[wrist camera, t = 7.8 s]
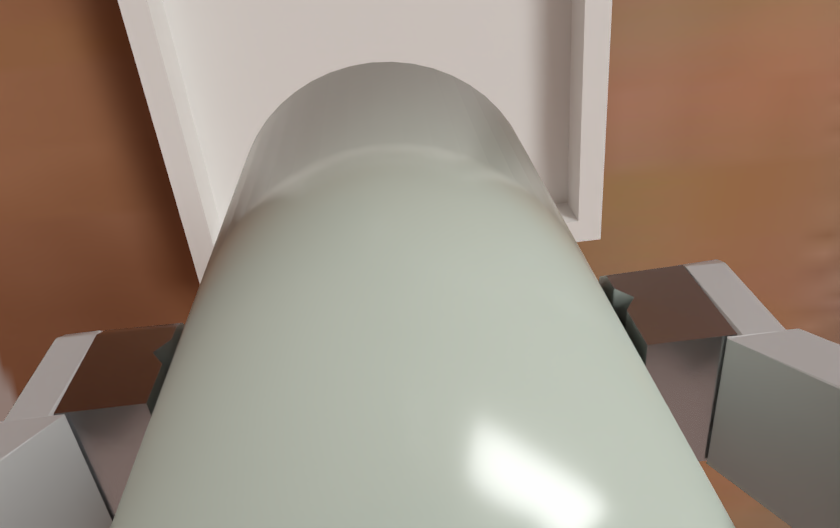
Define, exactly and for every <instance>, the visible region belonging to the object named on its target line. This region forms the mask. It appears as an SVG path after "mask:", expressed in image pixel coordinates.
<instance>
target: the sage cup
mask: <svg viewBox="0 0 840 528" xmlns="http://www.w3.org/2000/svg"><path fill="white" fill-rule="evenodd" d="M110 528H735V526H734V524H733V523H732V521H731V519H730V517H729V515H728V514H727V512H726V510H725V508H724V506H723V505H722V503H721V501H720V499H719V498H718V496H717V494H716V492H715V490H714V489H713V487H712V485H711V483H710V481H709V480H708V478H707V476H706V474H705V472H704V471H703V469H702V467H701V465H700V463H699V462H698V460H697V458H696V456H695V454H694V453H693V451H692V449H691V447H690V445H689V444H688V442H687V440H686V438H685V436H684V435H683V433H682V431H681V429H680V427H679V426H678V424H677V422H676V420H675V418H674V417H673V415H672V413H671V411H670V409H669V408H668V406H667V404H666V402H665V400H664V399H663V397H662V395H661V393H660V391H659V390H658V388H657V386H656V384H655V382H654V381H653V379H652V377H651V375H650V374H649V372H648V370H647V368H646V366H645V365H644V363H643V361H642V359H641V357H640V356H639V354H638V352H637V350H636V348H635V347H634V345H633V343H632V341H631V339H630V338H629V336H628V334H627V332H626V330H625V329H624V327H623V325H622V323H621V321H620V320H619V318H618V316H617V314H616V312H615V311H614V309H613V307H612V305H611V303H610V302H609V300H608V298H607V296H606V294H605V293H604V291H603V289H602V287H601V285H600V284H599V282H598V280H597V278H596V276H595V275H594V273H593V271H592V269H591V267H590V266H589V264H588V262H587V260H586V258H585V257H584V255H583V253H582V251H581V250H580V248H579V246H578V244H577V242H576V241H575V239H574V237H573V235H572V233H571V232H570V230H569V228H568V226H567V224H566V223H565V221H564V219H563V217H562V215H561V214H560V212H559V210H558V208H557V206H556V205H555V203H554V201H553V199H552V197H551V196H550V194H549V192H548V190H547V188H546V187H545V185H544V183H543V181H542V179H541V178H540V176H539V174H538V172H537V170H536V169H535V167H534V165H533V163H532V161H531V160H530V158H529V156H528V154H527V152H526V151H525V149H524V147H523V145H522V143H521V142H520V140H519V138H518V136H517V135H516V133H515V131H514V129H513V128H512V126H511V124H510V123H509V122H508V120H507V119H506V118H505V116H504V115H503V114H502V113H501V111H500V110H499V109H498V108H497V107H496V106H495V105H494V104H493V103H492V102H491V101H490V100H489V99H488V98H487V97H486V96H484V95H483V94H482V93H480V92H479V91H477V90H476V89H475V88H473V87H472V86H471V85H469V84H467V83H465V82H464V81H462V80H460V79H458V78H456V77H454V76H452V75H450V74H447V73H444V72H442V71H439V70H436V69H434V68H430V67H425V66H421V65H417V64H411V63H400V62H372V63H365V64H360V65H354V66H349V67H346V68H343V69H340V70H336V71H333V72H330V73H328V74H326V75H324V76H322V77H319V78H317V79H315V80H313V81H311V82H310V83H308V84H306V85H305V86H303V87H302V88H300V89H299V90H297V91H296V92H294V93H293V94H292V95H291V96H290V97H288V98H287V99H286V100H285V101H284V102H283V103H281V104H280V105H279V106H278V107H277V109H276V110H275V111H274V112H273V113H272V114H271V115H270V117H269V118H268V119H267V120H266V122H265V123H264V125H263V126H262V128H261V129H260V131H259V132H258V134H257V136H256V138H255V140H254V142H253V144H252V146H251V149H250V151H249V153H248V156H247V158H246V161H245V164H244V166H243V169H242V172H241V175H240V177H239V180H238V183H237V185H236V188H235V191H234V194H233V196H232V199H231V202H230V204H229V207H228V210H227V212H226V215H225V218H224V221H223V223H222V226H221V229H220V231H219V234H218V237H217V240H216V242H215V245H214V248H213V250H212V253H211V256H210V259H209V261H208V264H207V267H206V269H205V272H204V275H203V278H202V280H201V283H200V286H199V288H198V291H197V294H196V297H195V299H194V302H193V305H192V307H191V310H190V313H189V316H188V318H187V321H186V324H185V326H184V329H183V332H182V334H181V337H180V340H179V343H178V345H177V348H176V351H175V353H174V356H173V359H172V362H171V364H170V367H169V370H168V372H167V375H166V378H165V381H164V383H163V386H162V389H161V391H160V394H159V397H158V400H157V402H156V405H155V408H154V410H153V413H152V416H151V419H150V421H149V424H148V427H147V429H146V432H145V435H144V437H143V440H142V443H141V446H140V448H139V451H138V454H137V456H136V459H135V462H134V465H133V467H132V470H131V473H130V475H129V478H128V481H127V484H126V486H125V489H124V492H123V494H122V497H121V500H120V503H119V505H118V508H117V511H116V513H115V516H114V519H113V522H112V524H111V527H110Z"/></svg>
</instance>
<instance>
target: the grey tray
mask: <svg viewBox="0 0 840 528" xmlns="http://www.w3.org/2000/svg"><path fill="white" fill-rule="evenodd" d="M118 4H119V7H120V11H121V14H122V17H123V21H124V24H125V28H126V31H127V35H128V38H129V42H130V45H131V49H132V52H133V55H134V59H135V62H136V66H137V69H138V73H139V76H140V80H141V83H142V86H143V90H144V93H145V97H146V100H147V104H148V107H149V111H150V114H151V117H152V121H153V124H154V128H155V131H156V135H157V138H158V142H159V145H160V149H161V152H162V155H163V159H164V162H165V166H166V169H167V173H168V176H169V180H170V183H171V186H172V190H173V193H174V197H175V200H176V204H177V207H178V211H179V214H180V217H181V221H182V224H183V228H184V231H185V235H186V238H187V242H188V245H189V249H190V252H191V255H192V259H193V262H194V266H195V269H196V273H197V276H198V280H199V283H201V280H202V278H203V275H204V272H205V269H206V267H207V264H208V261H209V259H210V256H211V253H212V250H213V248H214V245H215V242H216V240H217V237H218V234H219V231H220V229H221V226H222V223H223V221H224V218H225V215H226V212H227V210H228V207H229V204H230V202H231V199H232V196H233V194H234V191H235V188H236V185H237V183H238V180H239V177H240V175H241V172H242V169H243V166H244V164H245V161H246V158H247V156H248V153H249V151H250V149H251V146H252V144H253V142H254V140H255V138H256V136H257V134H258V132H259V131H260V129H261V128H262V126H263V125H264V123H265V122H266V120H267V119H268V118H269V117H270V115H271V114H272V113H273V112H274V111H275V110H276V109H277V107H278V106H279V105H280V104H281V103H283V102H284V101H285V100H286V99H287V98H288V97H290V96H291V95H292V94H293V93H294V92H296V91H297V90H299V89H300V88H302V87H303V86H305V85H306V84H308V83H310V82H311V81H313V80H315V79H317V78H319V77H322V76H324V75H326V74H328V73H330V72H333V71H336V70H340V69H343V68H346V67H349V66H354V65H360V64H365V63H372V62H400V63H411V64H417V65H421V66H425V67H430V68H434V69H436V70H439V71H442V72H444V73H447V74H450V75H452V76H454V77H456V78H458V79H460V80H462V81H464V82H465V83H467V84H469V85H471V86H472V87H473V88H475V89H476V90H477V91H479V92H480V93H482V94H483V95H484V96H486V97H487V98H488V99H489V100H490V101H491V102H492V103H493V104H494V105H495V106H496V107H497V108H498V109H499V110H500V111H501V113H502V114H503V115H504V116H505V118H506V119H507V120H508V122H509V123H510V124H511V126H512V128H513V129H514V131H515V133H516V135H517V136H518V138H519V140H520V142H521V143H522V145H523V147H524V149H525V151H526V152H527V154H528V156H529V158H530V160H531V161H532V163H533V165H534V167H535V169H536V170H537V172H538V174H539V176H540V178H541V179H542V181H543V183H544V185H545V187H546V188H547V190H548V192H549V194H550V196H551V197H552V199H553V201H554V203H555V205H556V206H557V208H558V210H559V212H560V214H561V215H562V217H563V219H564V221H565V223H566V224H567V226H568V228H569V230H570V232H571V233H572V235H573V237H574V239H575V241H576V242H580V241H589V240H597V239H600V238H601V218H602V198H603V177H604V157H605V136H606V116H607V96H608V75H609V55H610V35H611V14H612V0H118Z"/></svg>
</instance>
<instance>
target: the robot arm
mask: <svg viewBox="0 0 840 528" xmlns="http://www.w3.org/2000/svg"><path fill="white" fill-rule="evenodd" d="M599 284H600V285H601V287H602V289H603V291H604V293H605V294H606V296H607V298H608V300H609V302H610V303H611V305H612V307H613V309H614V311H615V312H616V314H617V316H618V318H619V320H620V321H621V323H622V325H623V327H624V329H625V330H626V332H627V334H628V336H629V338H630V339H631V341H632V343H633V345H634V347H635V348H636V350H637V352H638V354H639V356H640V357H641V359H642V361H643V363H644V365H645V366H646V368H647V370H648V372H649V374H650V375H651V377H652V379H653V381H654V382H655V384H656V386H657V388H658V390H659V391H660V393H661V395H662V397H663V399H664V400H665V402H666V404H667V406H668V408H669V409H670V411H671V413H672V415H673V417H674V418H675V420H676V422H677V424H678V426H679V427H680V429H681V431H682V433H683V435H684V436H685V438H686V440H687V442H688V444H689V445H690V447H691V449H692V451H693V453H694V454H695V456H696V458H697V460H698V461H706V460H707V464H708V465H709V466H711V467H712V468H713V469H715V470H716V471H717V472H719V473H720V474H721V475H723V476H724V477H725V478H727V479H728V480H729V481H731V482H732V483H733V484H735V485H736V486H737V487H739V488H740V489H741V490H743V491H744V492H745V493H747V494H748V495H749V496H751V497H752V498H753V499H755V500H756V501H757V502H759V503H760V504H762V505H763V506H764V507H766V508H767V509H768V510H770V511H771V512H772V513H774V514H775V515H776V516H778V517H779V518H780V519H782V520H783V521H784V522H786V523H787V524H788V525H790V526H791V527H792V528H840V345H839V344H836V343H834V342H831V341H829V340H826V339H824V338H821V337H819V336H816V335H813V334H811V333H808V332H806V331H803V330H801V329H791V330H786V329H785V328H784V327H783V326H782V325H781V324H780V323H779V322H778V321H777V320H776V318H775V317H774V316H773V315H772V314H771V313H770V312H769V311H768V310H767V308H766V307H765V306H764V305H763V304H762V303H761V302H760V301H759V300H758V299H757V297H756V296H755V295H754V294H753V293H752V292H751V291H750V290H749V289H748V288H747V286H746V285H745V284H744V283H743V282H742V281H741V280H740V279H739V278H738V276H737V275H736V274H735V273H734V272H733V271H732V270H731V269H730V268H729V267H728V265H727V264H726V263H725V262H722V261H719V260H717V259H716V260H710V261H703V262H696V263H690V264H683V265H678V266H672V267H664V268H657V269H650V270H643V271H636V272H628V273H621V274H614V275H607V276H600V278H599ZM184 326H185V325H184V324H183V323H176V324H165V325H155V326H144V327H133V328H123V329H112V330H105V331H99V330H98V331H90V332H83V333H75V334H67V335H63V336H61V337H58V338H56V339H55V340H54V342H53V344H52V345H51V347H50V348H49V350H48V351H47V353H46V355H45V356H44V358H43V359H42V361H41V362H40V364H39V366H38V367H37V369H36V370H35V372H34V374H33V375H32V377H31V378H30V380H29V381H28V383H27V385H26V386H25V388H24V389H23V391H22V393H21V394H20V396H19V397H18V399H17V400H16V402H15V404H14V405H13V407H12V408H11V410H10V411H9V413H8V415H7V416H6V418H5V419H4V421H1V422H0V528H110V527H111V524H112V522H113V519H114V516H115V513H116V511H117V508H118V505H119V503H120V500H121V497H122V494H123V492H124V489H125V486H126V484H127V481H128V478H129V475H130V473H131V470H132V467H133V465H134V462H135V459H136V456H137V454H138V451H139V448H140V446H141V443H142V440H143V437H144V435H145V432H146V429H147V427H148V424H149V421H150V419H151V416H152V413H153V410H154V408H155V405H156V402H157V400H158V397H159V394H160V391H161V389H162V386H163V383H164V381H165V378H166V375H167V372H168V370H169V367H170V364H171V362H172V359H173V356H174V353H175V351H176V348H177V345H178V343H179V340H180V337H181V334H182V332H183V329H184Z"/></svg>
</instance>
